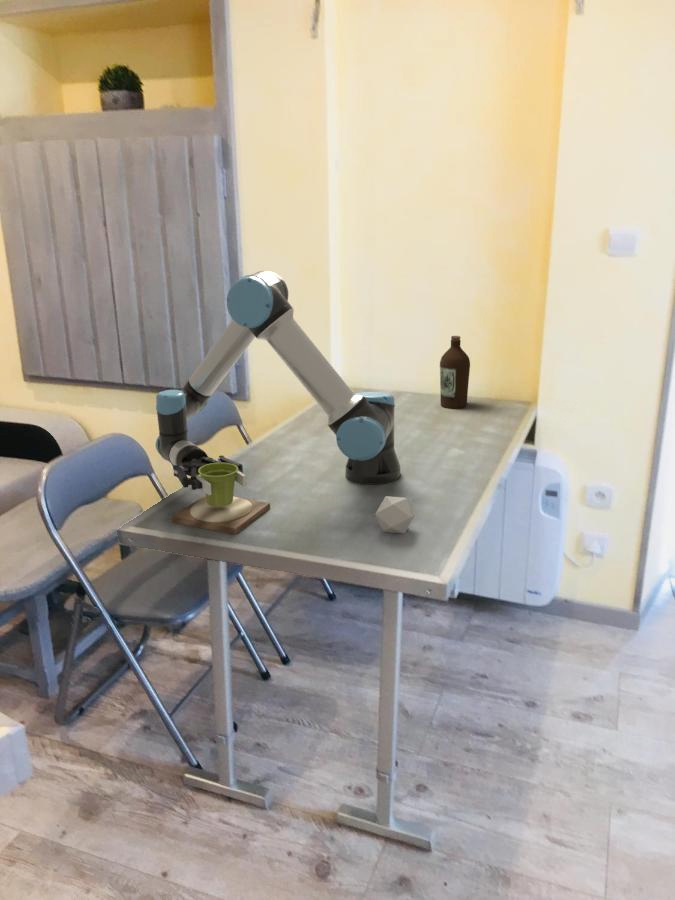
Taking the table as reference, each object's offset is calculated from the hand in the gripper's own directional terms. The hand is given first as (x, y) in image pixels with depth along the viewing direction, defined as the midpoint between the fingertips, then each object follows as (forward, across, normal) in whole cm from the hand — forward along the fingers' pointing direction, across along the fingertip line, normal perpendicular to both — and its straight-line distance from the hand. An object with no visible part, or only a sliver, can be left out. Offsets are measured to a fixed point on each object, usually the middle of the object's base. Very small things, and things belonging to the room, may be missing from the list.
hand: (227, 485), depth 176 cm
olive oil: (-44, -110, -9) cm, 119 cm away
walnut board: (-5, 0, -9) cm, 11 cm away
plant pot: (-5, 0, -6) cm, 8 cm away
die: (+27, -29, -10) cm, 41 cm away
